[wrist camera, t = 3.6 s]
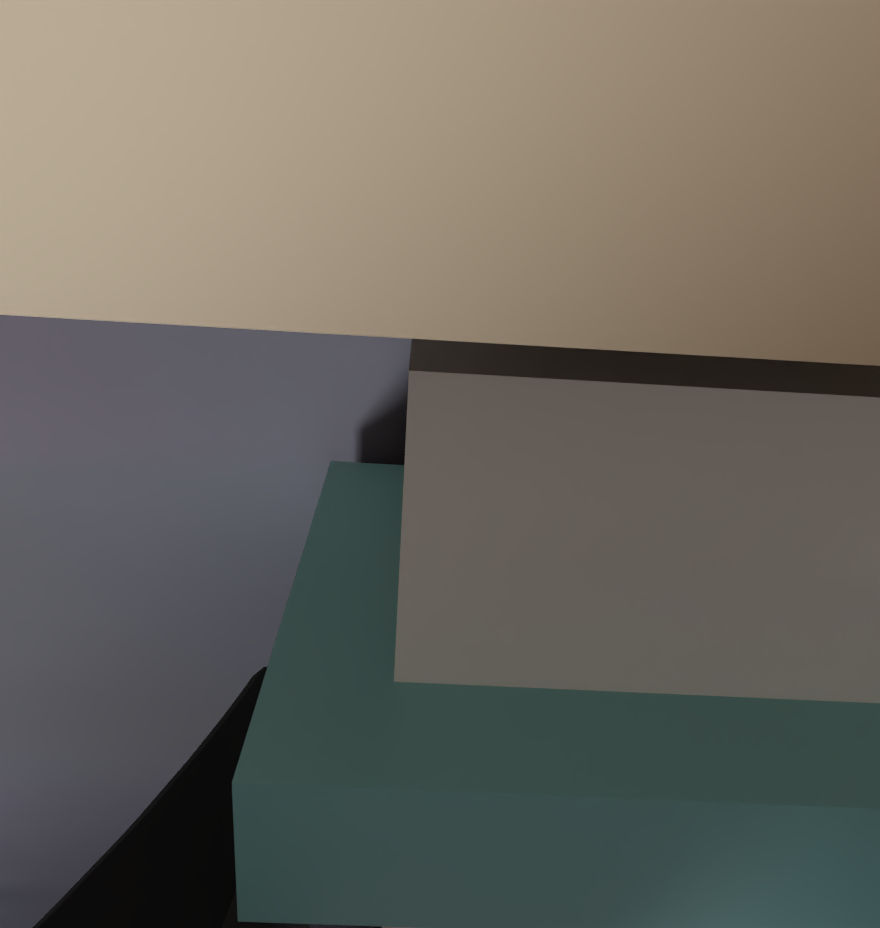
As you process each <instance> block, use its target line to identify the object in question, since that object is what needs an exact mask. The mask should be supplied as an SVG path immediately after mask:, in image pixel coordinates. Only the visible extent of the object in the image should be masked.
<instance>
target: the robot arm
mask: <svg viewBox="0 0 880 928" xmlns="http://www.w3.org/2000/svg"><path fill="white" fill-rule="evenodd" d="M266 670H267V667H264V668H262V669H261V670H260V671H259V672H257V673H256V674H255V675H254V676H253V677H252V678H251V679H250V681H249V682H248V684H247V685H246V686H245V688H244V689H243V691H242V692H241V693H240V695H239V696H238V697H237V699H236V700H235V701H234V703H233V704H232V705H231V707H230V708H229V709H228V711H227V712H226V713H225V715H224V716H223V717H222V718H221V720H220V721H219V722H218V724H217V725H216V726H215V727H214V729H213V730H212V731H211V732H210V734H209V735H208V736H207V737H206V739H205V740H204V741H203V742H202V744H201V745H200V746H199V747H198V748H197V750H196V751H195V752H194V753H193V755H192V756H191V757H190V758H189V760H188V761H187V762H186V763H185V764H184V765H183V767H182V768H181V769H180V770H179V771H178V772H177V774H176V775H175V776H174V777H173V778H172V779H171V780H170V782H169V783H168V784H167V785H166V786H165V787H164V789H163V790H162V791H161V792H160V793H159V794H158V795H157V797H156V798H155V799H154V800H153V801H152V802H151V804H150V805H149V806H148V807H147V808H146V809H145V810H144V812H143V813H142V814H141V815H140V816H139V817H138V819H137V820H136V821H135V822H134V823H133V824H132V825H131V826H130V827H129V829H128V830H127V831H126V832H125V833H124V834H123V835H122V836H121V837H120V838H119V839H118V840H117V841H116V842H115V844H114V845H113V846H112V847H111V848H110V849H109V850H108V851H107V852H106V853H105V854H104V855H103V856H102V857H101V858H100V859H99V860H98V861H97V862H96V863H95V864H94V865H93V866H92V868H91V869H90V870H89V871H88V872H87V873H86V874H85V875H84V876H83V877H82V878H81V879H80V880H79V881H78V882H77V883H76V884H75V885H74V886H73V887H72V888H71V889H70V890H69V892H68V893H67V894H66V895H65V896H64V897H63V898H62V899H61V900H60V901H59V902H58V903H57V904H56V905H55V906H54V907H53V908H52V909H51V910H50V911H49V912H48V913H47V914H46V915H45V916H44V917H43V918H42V919H41V920H40V921H39V922H38V923H37V924H36V925H35V926H34V927H33V928H309V926H310V924H294V923H265V922H238V916H237V893H236V870H235V847H234V823H233V800H232V780H233V777H234V774H235V771H236V767H237V764H238V761H239V758H240V755H241V751H242V748H243V745H244V742H245V738H246V735H247V732H248V729H249V725H250V722H251V719H252V716H253V712H254V709H255V706H256V703H257V699H258V696H259V693H260V690H261V686H262V683H263V680H264V677H265V673H266Z"/></svg>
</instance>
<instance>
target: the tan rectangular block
mask: <svg viewBox="0 0 880 928" xmlns="http://www.w3.org/2000/svg"><path fill="white" fill-rule="evenodd" d="M0 315H16V316H33V317H50V318H67V319H85V320H102V321H119V322H136V323H153V324H170V325H187V326H205V327H222V328H239V329H256V330H273V331H290V332H307V333H325V334H342V335H359V336H376V337H393V338H410V339H427V340H445V341H462V342H479V343H496V344H513V345H530V346H547V347H565V348H582V349H599V350H616V351H633V352H650V353H667V354H685V355H702V356H719V357H736V358H753V359H770V360H787V361H805V362H822V363H839V364H856V365H873V366H880V0H0Z"/></svg>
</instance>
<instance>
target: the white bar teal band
mask: <svg viewBox="0 0 880 928" xmlns="http://www.w3.org/2000/svg"><path fill="white" fill-rule="evenodd" d="M232 800H233V823H234V847H235V870H236V893H237V916H238V922H265V923H294V924H323V925H352V926H381V927H382V928H880V366H873V365H856V364H839V363H822V362H805V361H787V360H770V359H753V358H736V357H719V356H702V355H685V354H667V353H650V352H633V351H616V350H599V349H582V348H565V347H547V346H530V345H513V344H496V343H479V342H462V341H445V340H427V339H412V344H411V354H410V365H409V381H408V401H407V422H406V442H405V462H404V465H393V464H374V463H356V462H337V461H331V463H330V466H329V469H328V472H327V476H326V479H325V482H324V485H323V488H322V492H321V495H320V498H319V501H318V505H317V508H316V511H315V514H314V518H313V521H312V524H311V527H310V531H309V534H308V537H307V540H306V544H305V547H304V550H303V553H302V557H301V560H300V563H299V566H298V570H297V573H296V576H295V579H294V583H293V586H292V589H291V592H290V596H289V599H288V602H287V605H286V609H285V612H284V615H283V618H282V622H281V625H280V628H279V631H278V634H277V638H276V641H275V644H274V647H273V651H272V654H271V657H270V660H269V664H268V667H267V670H266V673H265V677H264V680H263V683H262V686H261V690H260V693H259V696H258V699H257V703H256V706H255V709H254V712H253V716H252V719H251V722H250V725H249V729H248V732H247V735H246V738H245V742H244V745H243V748H242V751H241V755H240V758H239V761H238V764H237V767H236V771H235V774H234V777H233V780H232Z"/></svg>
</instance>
